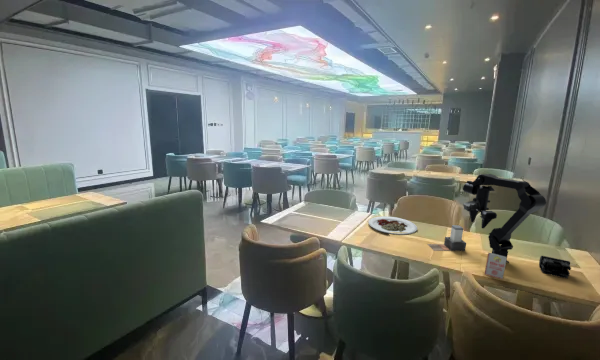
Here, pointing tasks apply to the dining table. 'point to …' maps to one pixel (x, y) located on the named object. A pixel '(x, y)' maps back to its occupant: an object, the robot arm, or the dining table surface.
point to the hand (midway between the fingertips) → (477, 225)
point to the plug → (456, 233)
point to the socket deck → (449, 245)
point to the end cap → (554, 266)
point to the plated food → (392, 225)
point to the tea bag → (495, 265)
